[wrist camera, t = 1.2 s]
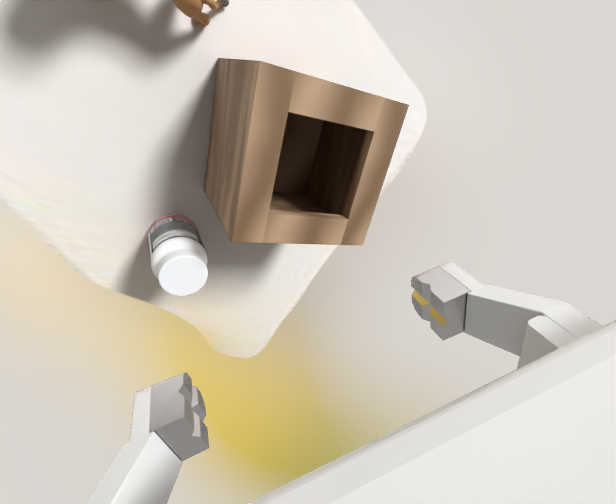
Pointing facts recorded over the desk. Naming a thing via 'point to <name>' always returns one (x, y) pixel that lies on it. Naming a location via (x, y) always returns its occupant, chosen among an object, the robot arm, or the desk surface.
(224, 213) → the slot box
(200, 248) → the pill bottle
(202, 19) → the lion figurine
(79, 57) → the desk surface
